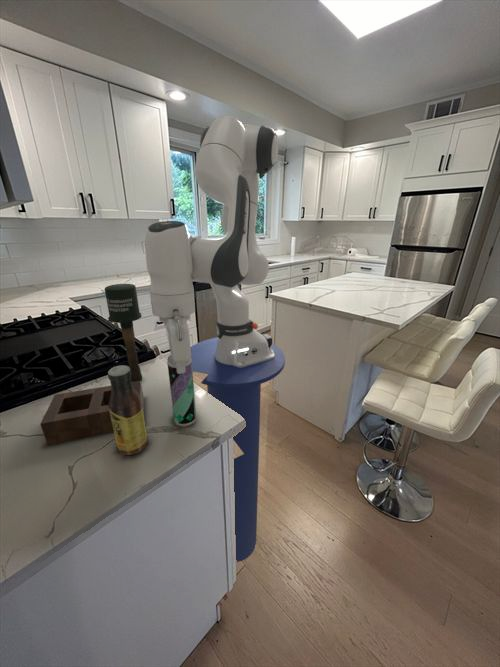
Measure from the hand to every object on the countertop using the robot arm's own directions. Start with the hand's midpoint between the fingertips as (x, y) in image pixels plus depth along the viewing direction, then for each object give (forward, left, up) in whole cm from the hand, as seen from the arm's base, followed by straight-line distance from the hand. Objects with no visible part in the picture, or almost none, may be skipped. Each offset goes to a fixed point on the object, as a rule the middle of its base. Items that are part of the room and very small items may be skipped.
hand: (178, 362), depth 64 cm
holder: (+20, -7, -17) cm, 27 cm away
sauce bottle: (+12, +5, -17) cm, 21 cm away
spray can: (0, 0, -17) cm, 17 cm away
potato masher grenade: (+12, -23, -17) cm, 31 cm away
